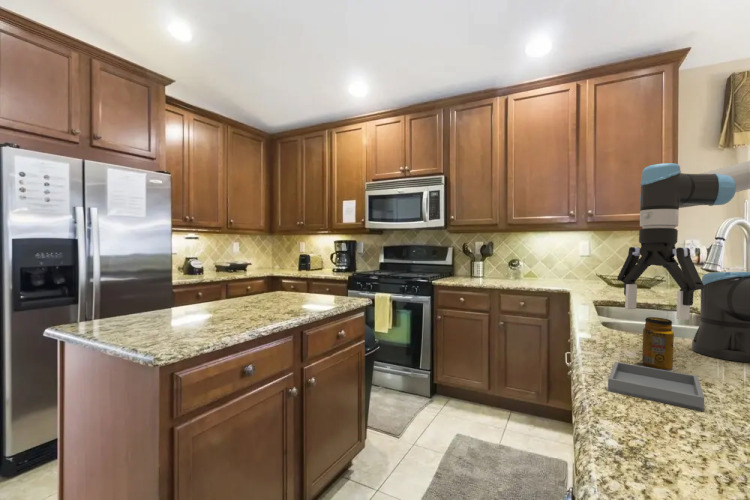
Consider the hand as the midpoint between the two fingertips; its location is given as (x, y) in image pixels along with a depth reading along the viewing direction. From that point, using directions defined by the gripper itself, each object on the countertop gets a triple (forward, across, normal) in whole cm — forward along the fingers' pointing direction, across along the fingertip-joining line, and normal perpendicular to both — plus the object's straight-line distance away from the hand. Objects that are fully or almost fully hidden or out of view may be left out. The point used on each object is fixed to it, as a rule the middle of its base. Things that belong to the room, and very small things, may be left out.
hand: (654, 313), depth 90 cm
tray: (+13, +12, -14) cm, 22 cm away
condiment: (+14, 0, 0) cm, 14 cm away
